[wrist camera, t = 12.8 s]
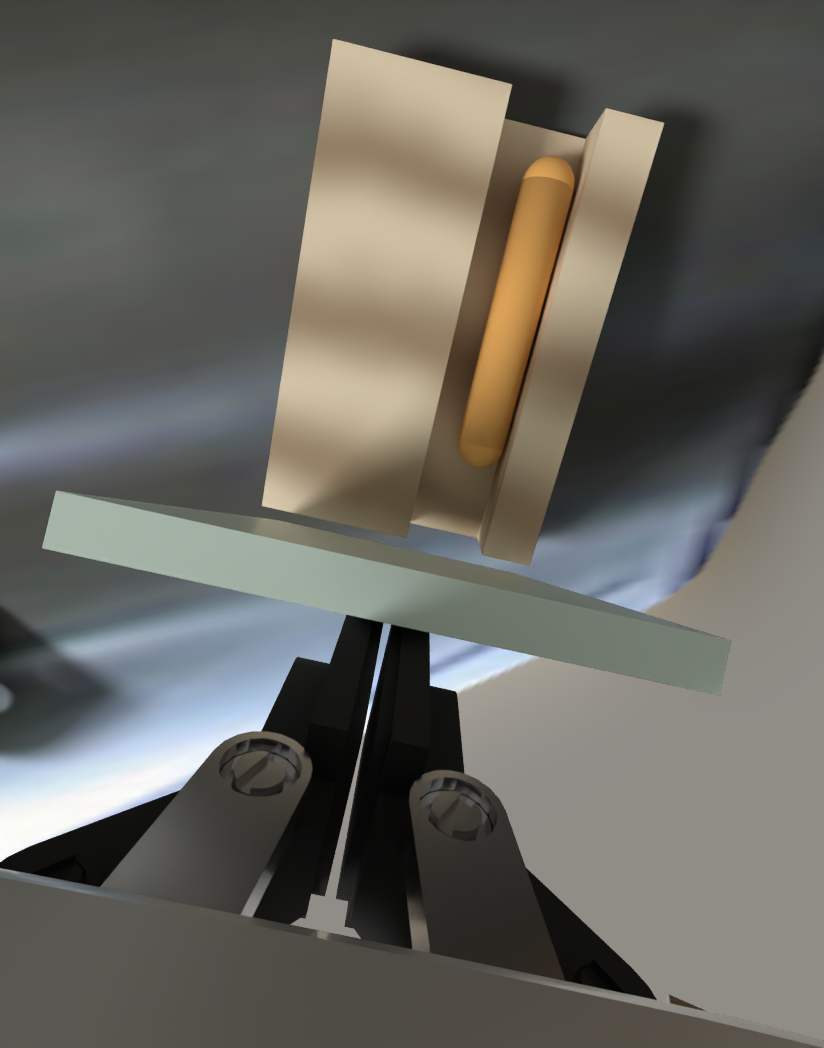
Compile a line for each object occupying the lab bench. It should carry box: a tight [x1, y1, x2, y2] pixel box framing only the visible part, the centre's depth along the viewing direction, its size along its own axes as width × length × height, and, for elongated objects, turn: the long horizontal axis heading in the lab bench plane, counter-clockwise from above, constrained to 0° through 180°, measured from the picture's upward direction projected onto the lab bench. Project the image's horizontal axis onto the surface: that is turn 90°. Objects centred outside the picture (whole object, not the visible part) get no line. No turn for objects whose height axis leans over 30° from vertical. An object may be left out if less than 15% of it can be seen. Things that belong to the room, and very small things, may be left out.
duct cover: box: [42, 491, 731, 696], centre depth 18 cm, size 18×12×1 cm
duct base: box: [262, 39, 664, 566], centre depth 26 cm, size 20×14×4 cm
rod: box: [458, 156, 574, 467], centre depth 26 cm, size 14×2×2 cm, turn 167°
